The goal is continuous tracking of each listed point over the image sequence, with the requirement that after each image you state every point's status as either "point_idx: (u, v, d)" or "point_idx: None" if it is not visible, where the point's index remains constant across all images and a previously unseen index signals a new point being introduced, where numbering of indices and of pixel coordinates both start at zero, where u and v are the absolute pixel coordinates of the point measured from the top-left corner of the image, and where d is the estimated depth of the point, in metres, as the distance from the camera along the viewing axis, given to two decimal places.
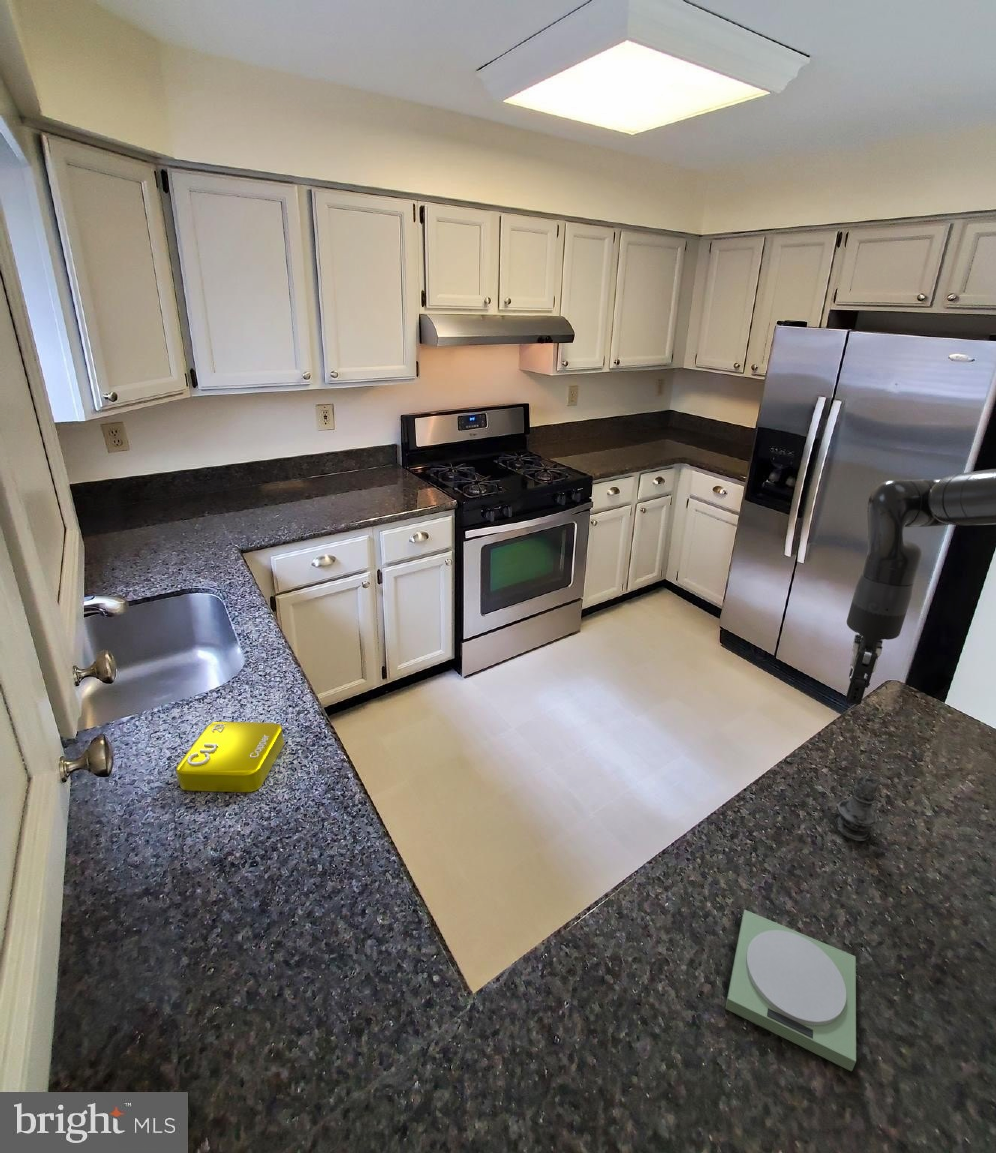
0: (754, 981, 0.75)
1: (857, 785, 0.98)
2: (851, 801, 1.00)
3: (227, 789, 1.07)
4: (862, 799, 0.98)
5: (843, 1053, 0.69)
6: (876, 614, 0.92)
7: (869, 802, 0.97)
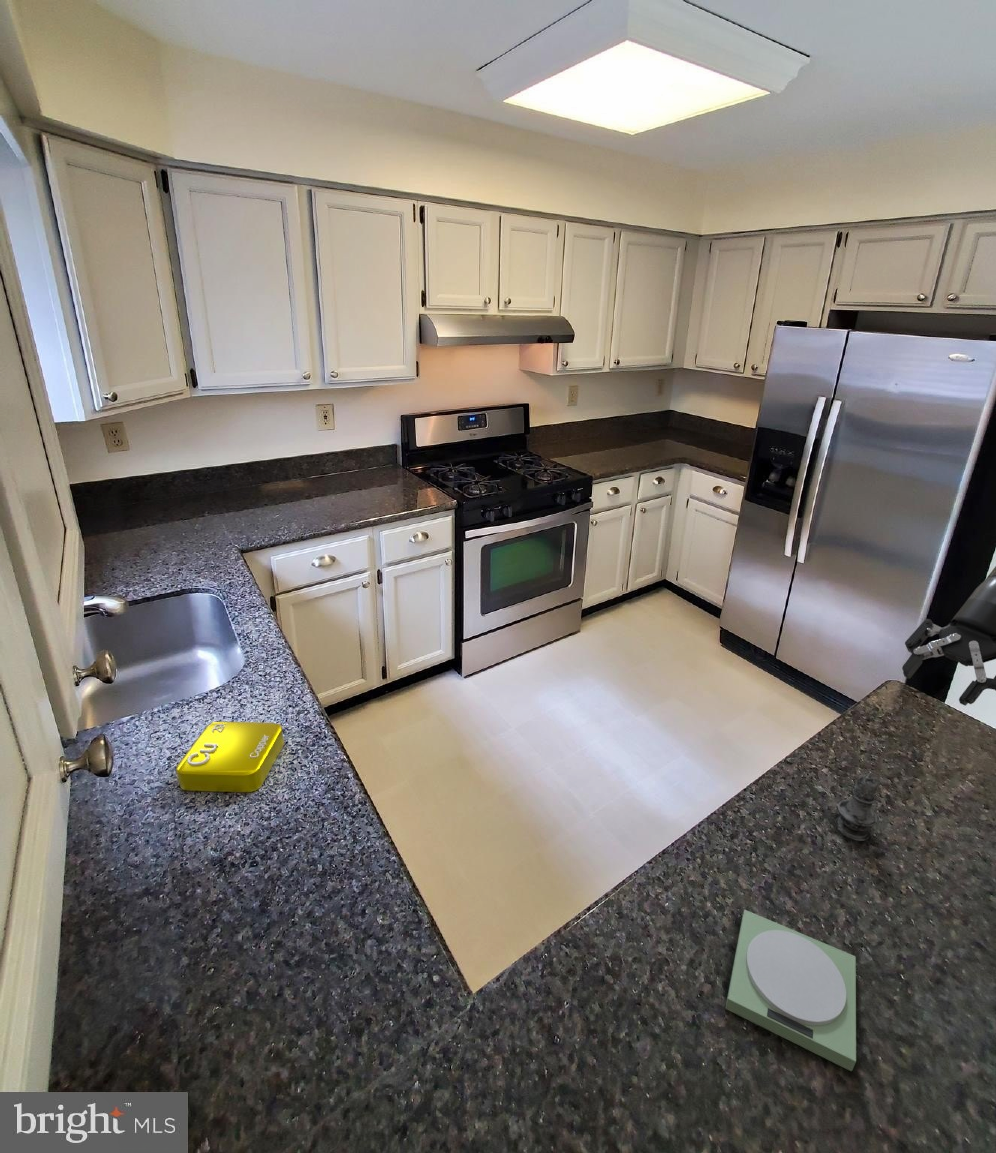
0: (754, 981, 0.75)
1: (857, 785, 0.98)
2: (851, 801, 1.00)
3: (227, 789, 1.07)
4: (862, 799, 0.98)
5: (843, 1053, 0.69)
6: None
7: (869, 802, 0.97)
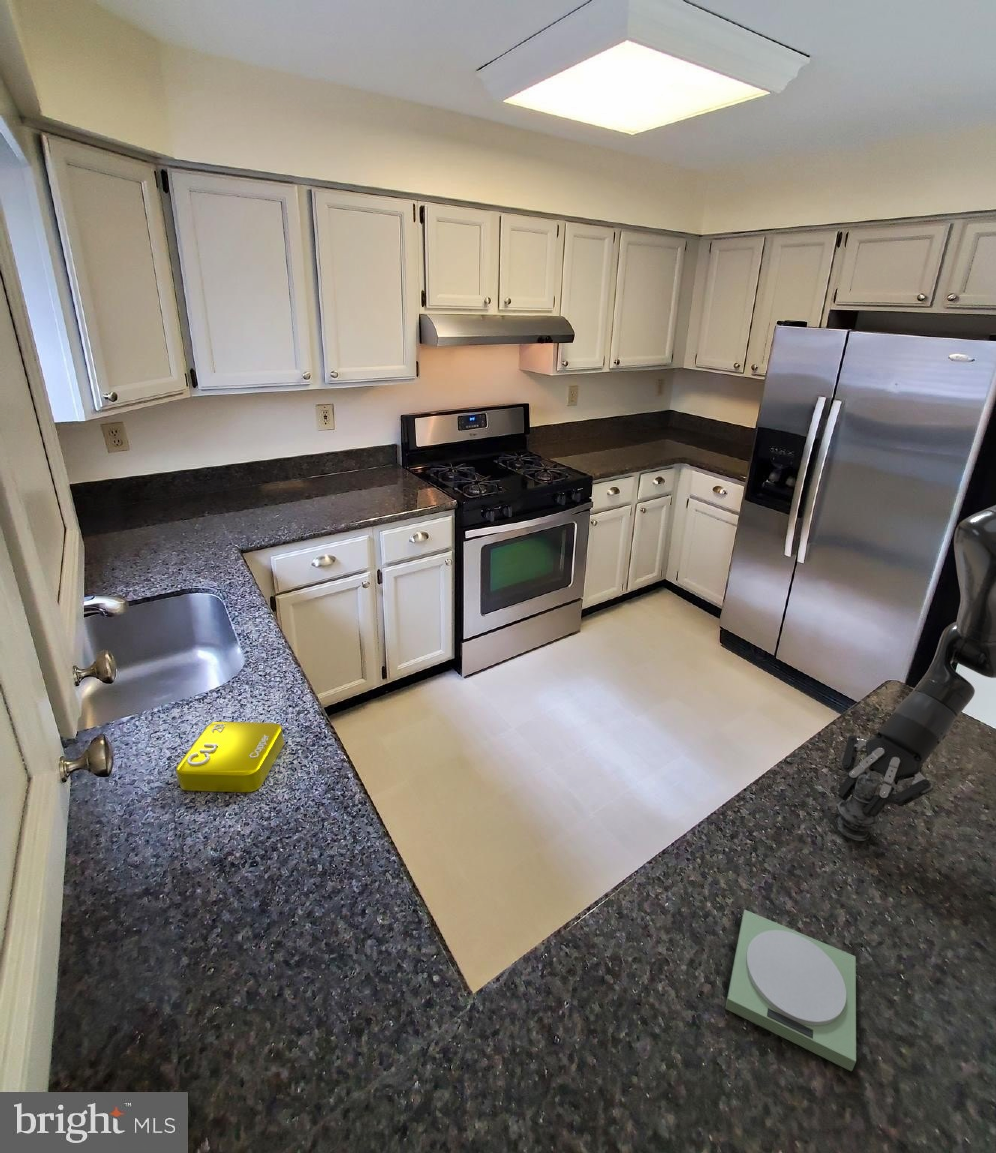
0: (754, 981, 0.75)
1: (857, 785, 0.98)
2: (851, 801, 1.00)
3: (227, 789, 1.07)
4: (862, 799, 0.98)
5: (843, 1053, 0.69)
6: None
7: (869, 802, 0.97)
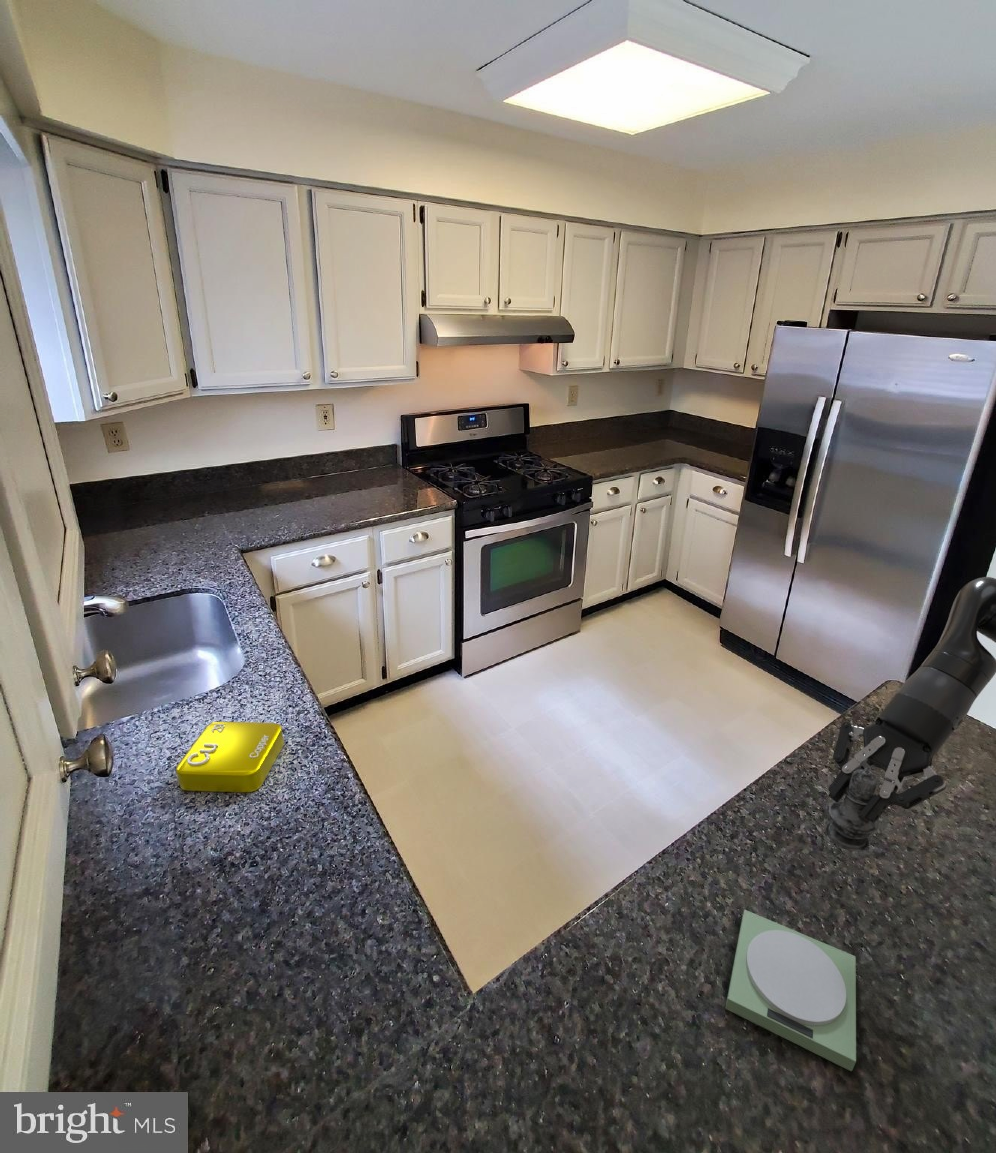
0: (754, 981, 0.75)
1: (852, 782, 0.79)
2: (845, 802, 0.81)
3: (227, 789, 1.07)
4: (858, 799, 0.79)
5: (843, 1053, 0.69)
6: None
7: (867, 803, 0.78)
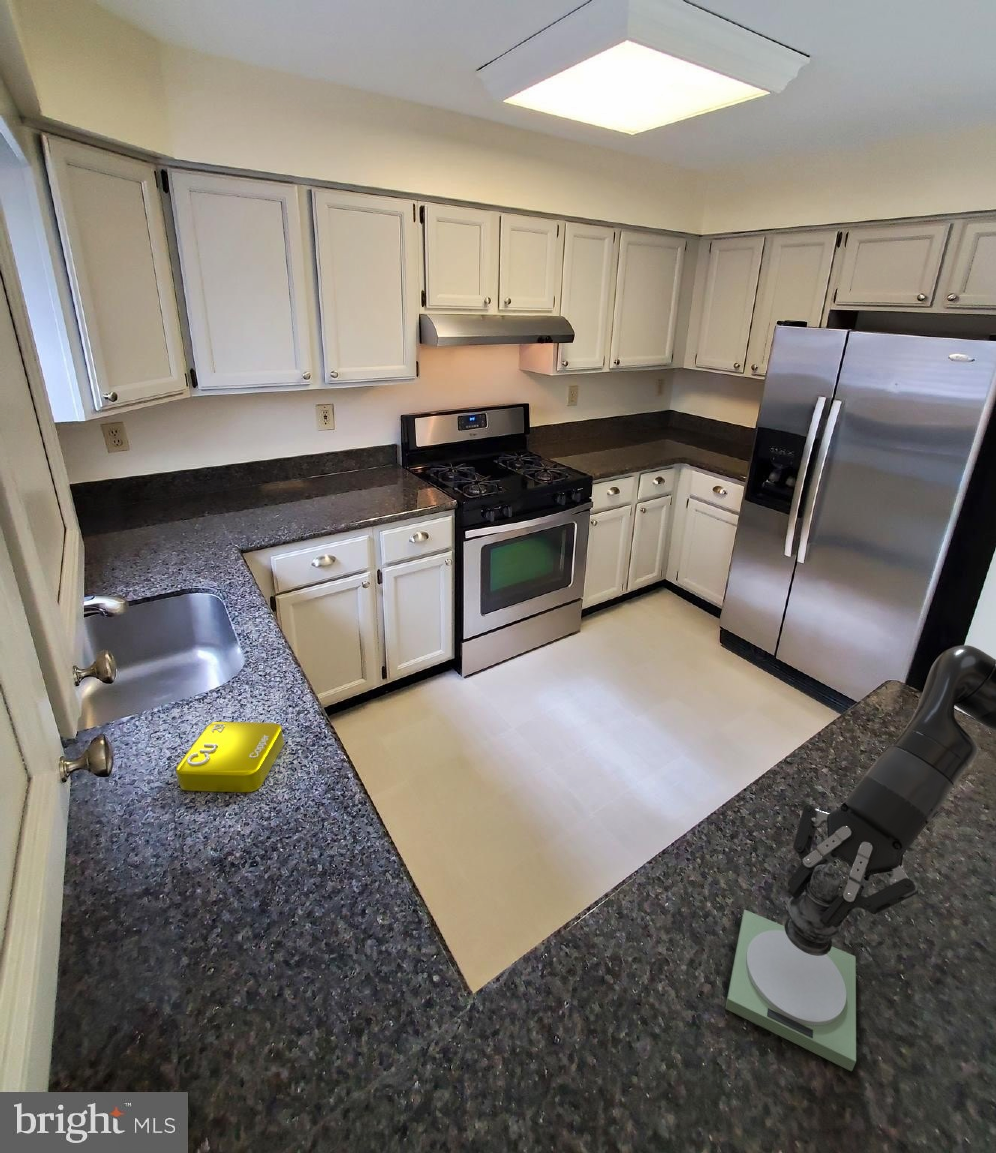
0: (754, 981, 0.75)
1: (813, 880, 0.70)
2: (805, 900, 0.71)
3: (227, 789, 1.07)
4: (820, 900, 0.69)
5: (843, 1053, 0.69)
6: None
7: (829, 905, 0.69)
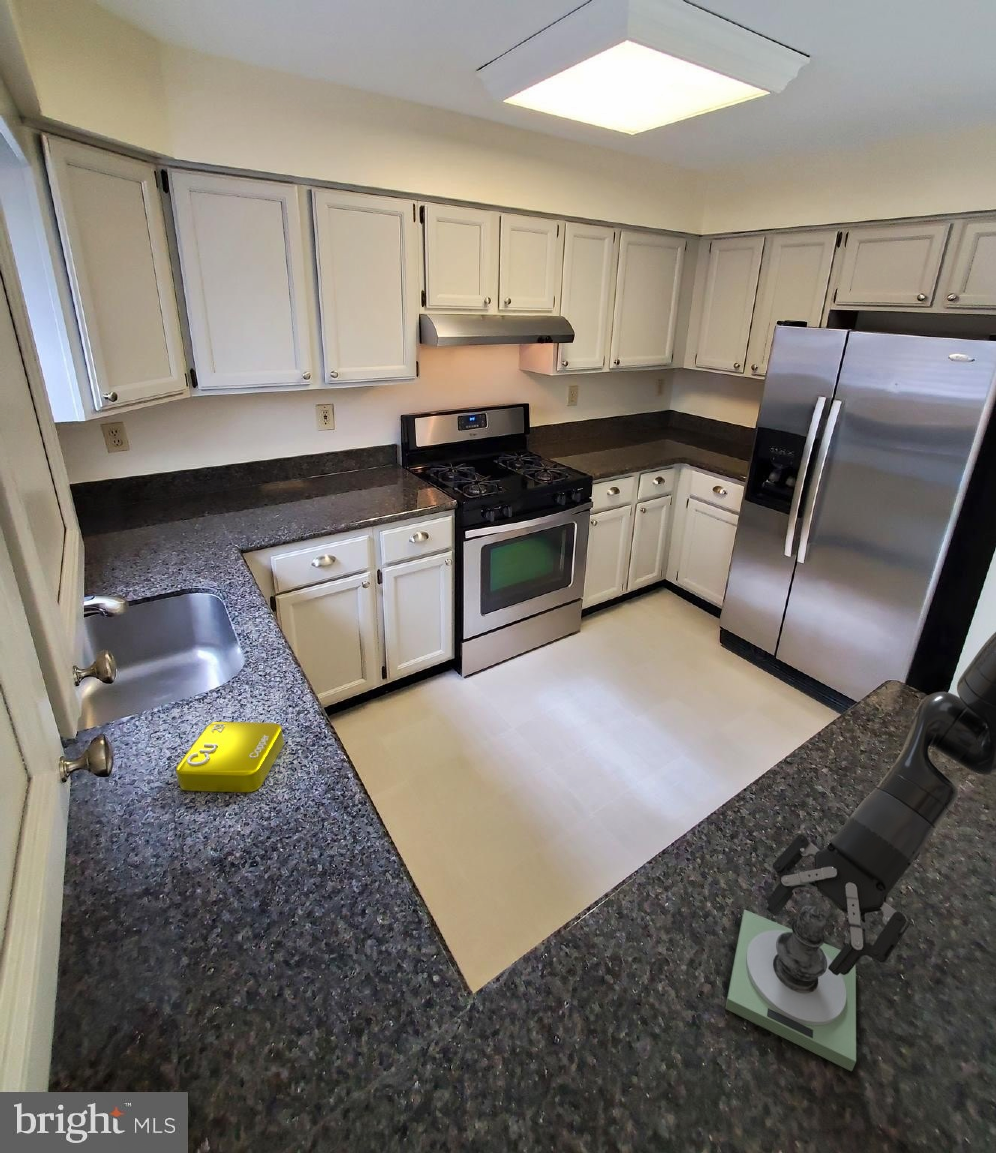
0: (754, 981, 0.75)
1: (799, 921, 0.73)
2: (792, 939, 0.74)
3: (227, 789, 1.07)
4: (806, 940, 0.72)
5: (843, 1053, 0.69)
6: None
7: (815, 945, 0.72)
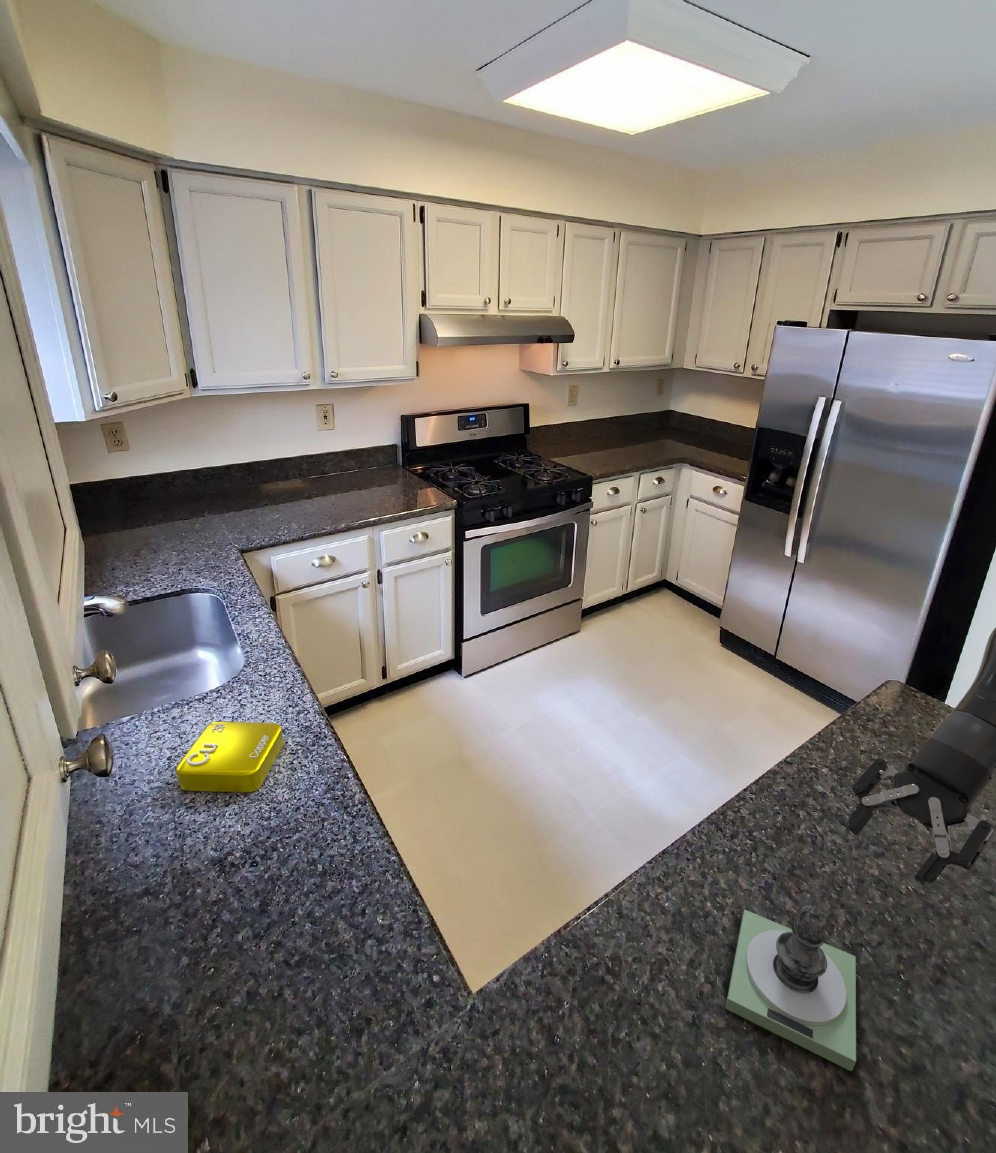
0: (754, 981, 0.75)
1: (799, 921, 0.73)
2: (792, 939, 0.74)
3: (227, 789, 1.07)
4: (806, 940, 0.72)
5: (843, 1053, 0.69)
6: None
7: (815, 945, 0.72)
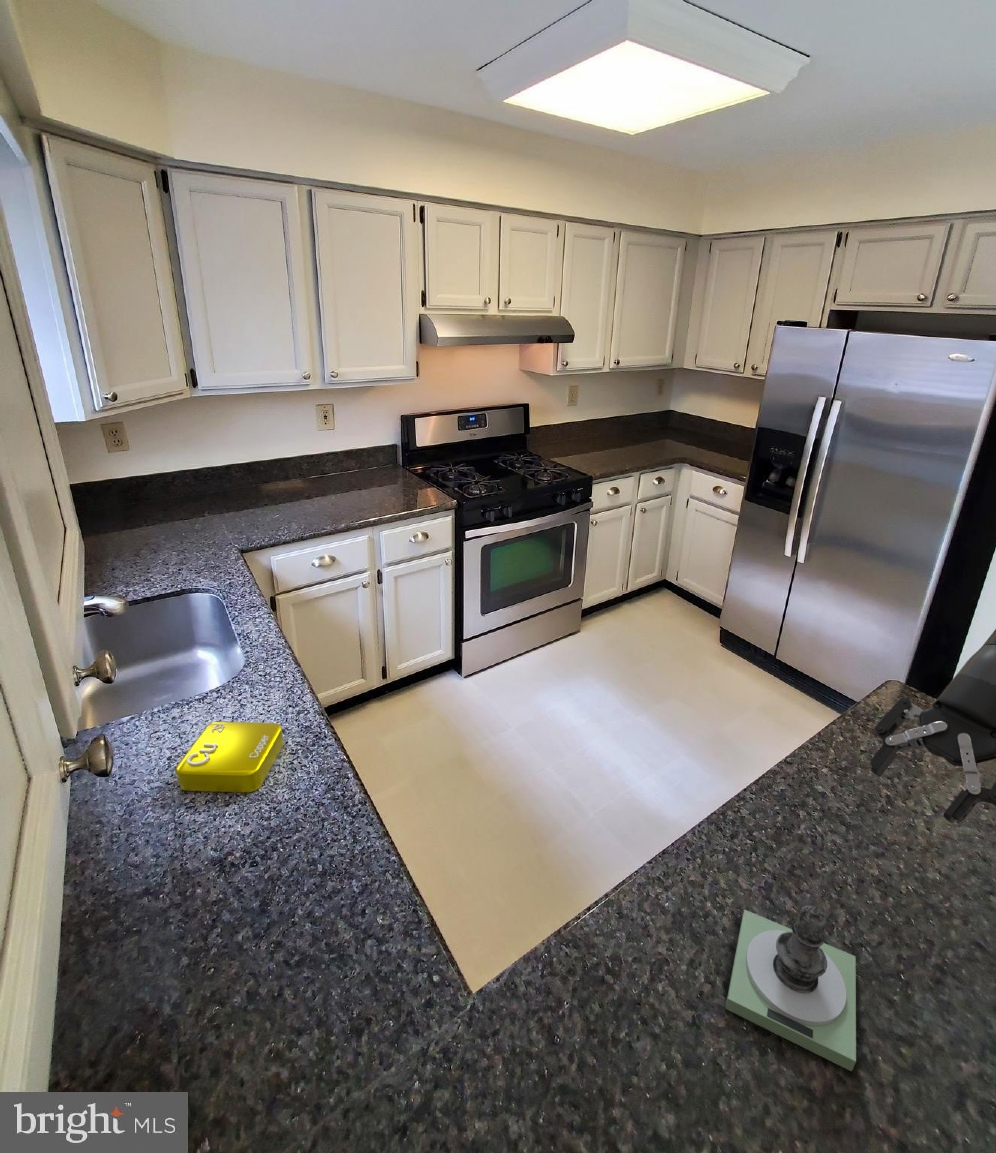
0: (754, 981, 0.75)
1: (799, 921, 0.73)
2: (792, 939, 0.74)
3: (227, 789, 1.07)
4: (806, 940, 0.72)
5: (843, 1053, 0.69)
6: None
7: (815, 945, 0.72)
